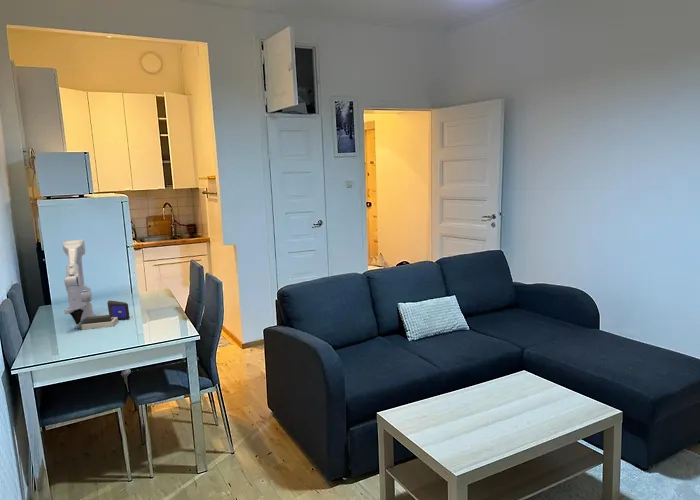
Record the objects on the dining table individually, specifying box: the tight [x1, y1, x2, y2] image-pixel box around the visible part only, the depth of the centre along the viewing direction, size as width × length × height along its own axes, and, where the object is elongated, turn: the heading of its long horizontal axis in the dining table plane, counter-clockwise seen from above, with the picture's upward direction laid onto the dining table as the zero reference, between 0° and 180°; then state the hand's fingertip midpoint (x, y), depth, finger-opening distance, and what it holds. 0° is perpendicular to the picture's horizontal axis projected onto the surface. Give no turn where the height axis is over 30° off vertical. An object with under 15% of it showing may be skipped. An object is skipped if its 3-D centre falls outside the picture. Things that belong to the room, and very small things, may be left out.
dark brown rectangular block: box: [84, 314, 111, 324], centre depth 253 cm, size 4×12×5 cm, turn 105°
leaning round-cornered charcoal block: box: [107, 300, 131, 321], centre depth 264 cm, size 16×5×9 cm, turn 60°
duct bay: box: [81, 317, 119, 331], centre depth 253 cm, size 9×15×2 cm, turn 101°
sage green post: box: [77, 319, 84, 330], centre depth 251 cm, size 10×1×3 cm, turn 14°
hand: (78, 323), depth 250 cm, fingers closed, pressing on sage green post
